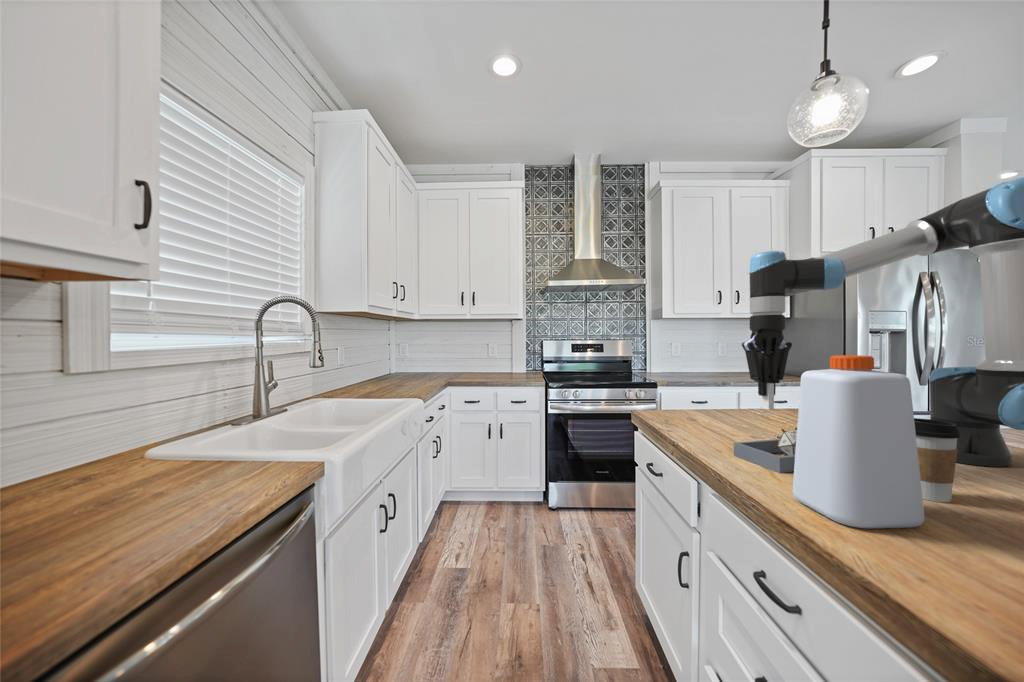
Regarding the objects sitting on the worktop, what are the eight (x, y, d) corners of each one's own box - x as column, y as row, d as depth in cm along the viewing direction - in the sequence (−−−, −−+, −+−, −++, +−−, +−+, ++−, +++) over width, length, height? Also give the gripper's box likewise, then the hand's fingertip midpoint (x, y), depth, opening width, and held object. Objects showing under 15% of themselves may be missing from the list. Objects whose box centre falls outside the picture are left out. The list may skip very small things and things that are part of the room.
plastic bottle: (940, 530, 64) (938, 357, 64) (847, 532, 64) (846, 358, 63) (857, 493, 79) (855, 353, 79) (782, 495, 79) (780, 354, 79)
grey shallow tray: (790, 450, 109) (790, 438, 109) (842, 466, 95) (842, 452, 95) (733, 455, 105) (733, 442, 105) (779, 473, 91) (779, 457, 91)
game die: (805, 476, 99) (830, 451, 94) (769, 463, 101) (792, 437, 95) (796, 451, 106) (820, 426, 101) (764, 438, 108) (785, 413, 102)
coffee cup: (887, 487, 82) (886, 415, 82) (933, 489, 81) (932, 415, 81) (923, 504, 74) (922, 423, 74) (975, 506, 72) (974, 424, 72)
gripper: (775, 315, 104) (775, 405, 104) (733, 315, 101) (733, 407, 101) (802, 314, 97) (802, 410, 97) (757, 313, 94) (756, 412, 94)
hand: (766, 408), depth 99 cm, fingers closed
